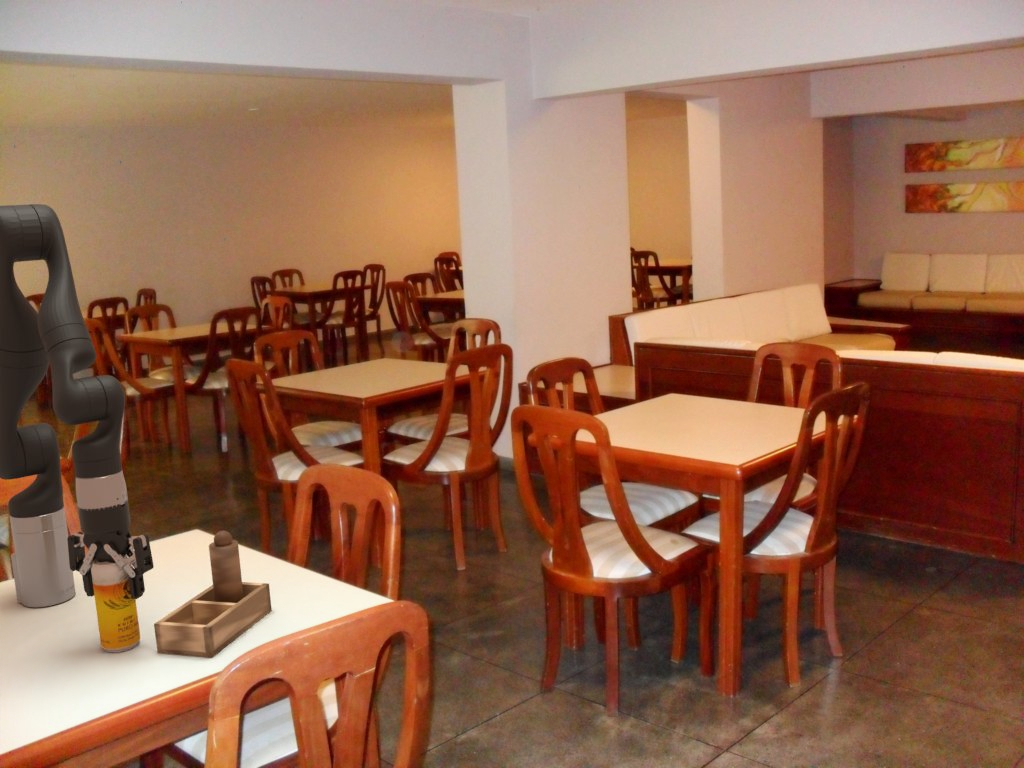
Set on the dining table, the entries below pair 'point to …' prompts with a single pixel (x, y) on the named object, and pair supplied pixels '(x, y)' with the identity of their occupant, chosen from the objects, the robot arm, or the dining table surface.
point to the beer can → (114, 607)
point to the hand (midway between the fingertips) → (115, 596)
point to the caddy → (215, 607)
